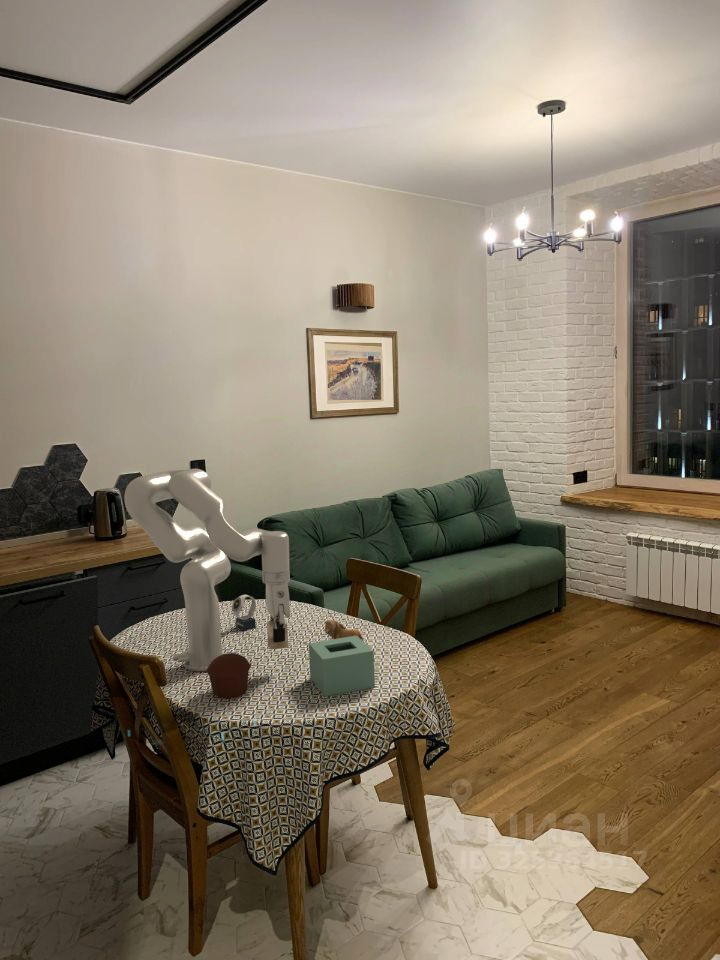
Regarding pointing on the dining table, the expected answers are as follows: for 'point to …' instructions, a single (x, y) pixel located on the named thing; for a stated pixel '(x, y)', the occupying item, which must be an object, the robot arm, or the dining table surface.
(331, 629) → the lion figurine
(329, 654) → the money box
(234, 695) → the muffin
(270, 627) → the beige upright block
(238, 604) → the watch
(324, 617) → the dining table surface
